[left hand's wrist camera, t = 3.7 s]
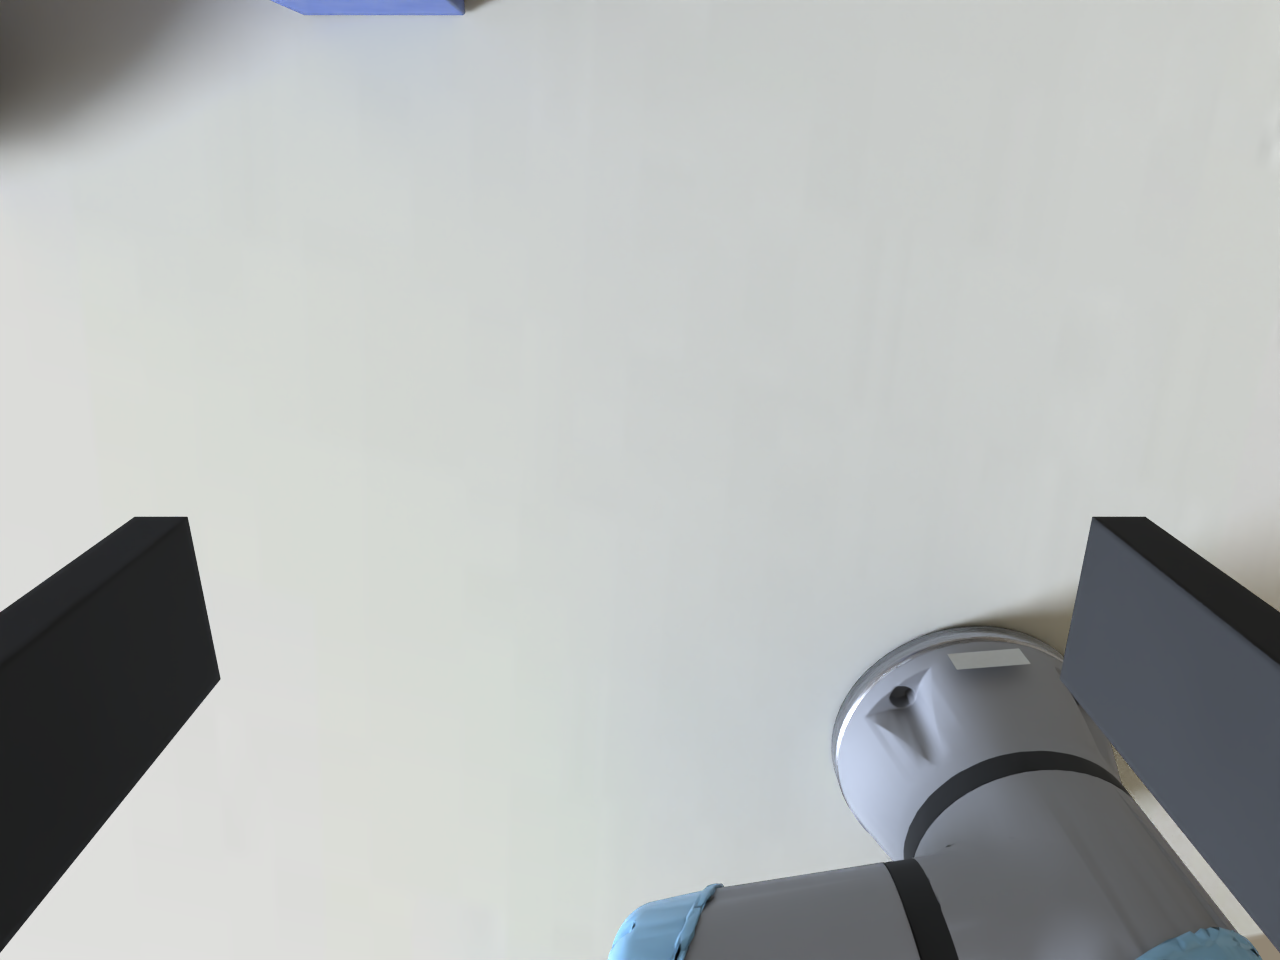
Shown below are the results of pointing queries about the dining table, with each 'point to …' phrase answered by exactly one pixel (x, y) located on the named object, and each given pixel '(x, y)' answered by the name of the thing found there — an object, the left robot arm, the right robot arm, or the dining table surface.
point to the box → (375, 7)
